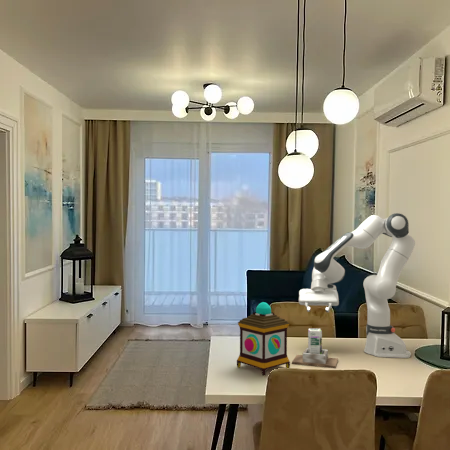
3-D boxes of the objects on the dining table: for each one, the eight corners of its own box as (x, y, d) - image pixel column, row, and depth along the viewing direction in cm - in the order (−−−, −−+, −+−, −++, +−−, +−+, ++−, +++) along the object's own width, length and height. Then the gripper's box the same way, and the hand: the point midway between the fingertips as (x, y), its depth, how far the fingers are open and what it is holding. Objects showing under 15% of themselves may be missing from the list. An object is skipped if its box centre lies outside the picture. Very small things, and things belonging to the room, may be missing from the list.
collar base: (338, 360, 230) (338, 350, 230) (335, 368, 218) (335, 357, 218) (296, 356, 236) (296, 346, 236) (291, 363, 224) (291, 353, 224)
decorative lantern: (262, 359, 231) (263, 297, 231) (294, 369, 216) (294, 302, 216) (232, 367, 218) (232, 301, 218) (263, 378, 203) (264, 307, 203)
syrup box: (309, 361, 225) (309, 330, 225) (308, 358, 230) (308, 327, 230) (321, 361, 224) (322, 330, 224) (320, 358, 230) (320, 328, 230)
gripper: (298, 285, 252) (296, 307, 242) (338, 285, 246) (337, 308, 236) (300, 292, 256) (298, 314, 247) (339, 293, 250) (338, 315, 240)
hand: (317, 311), depth 241 cm, fingers open, 8 cm apart
